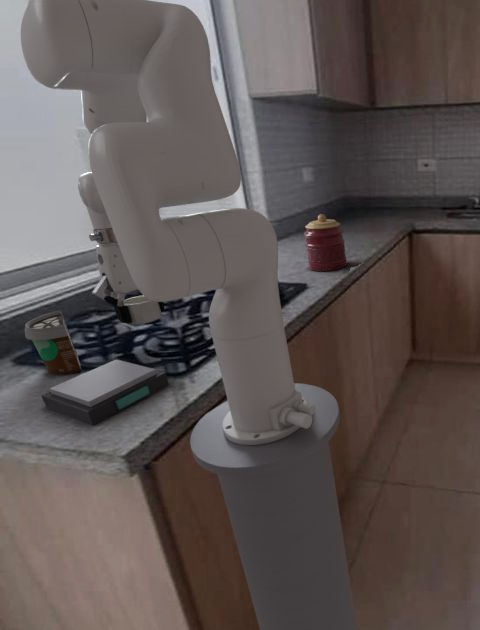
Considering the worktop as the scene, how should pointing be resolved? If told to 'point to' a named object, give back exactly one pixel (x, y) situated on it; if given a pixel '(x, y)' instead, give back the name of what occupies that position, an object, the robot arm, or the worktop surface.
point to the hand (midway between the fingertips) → (143, 315)
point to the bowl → (142, 310)
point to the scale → (104, 391)
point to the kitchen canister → (325, 245)
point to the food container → (53, 343)
